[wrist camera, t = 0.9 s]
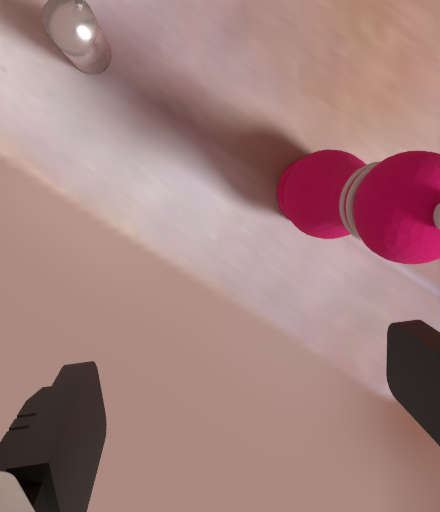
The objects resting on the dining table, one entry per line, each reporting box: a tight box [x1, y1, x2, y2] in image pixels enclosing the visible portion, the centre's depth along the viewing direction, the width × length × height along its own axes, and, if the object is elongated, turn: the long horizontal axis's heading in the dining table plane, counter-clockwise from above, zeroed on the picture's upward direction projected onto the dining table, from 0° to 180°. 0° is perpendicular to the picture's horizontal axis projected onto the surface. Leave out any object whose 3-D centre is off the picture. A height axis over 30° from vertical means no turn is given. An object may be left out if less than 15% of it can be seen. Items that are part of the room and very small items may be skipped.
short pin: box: [42, 0, 111, 74], centre depth 28 cm, size 3×3×7 cm
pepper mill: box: [277, 150, 440, 264], centre depth 26 cm, size 7×7×20 cm
